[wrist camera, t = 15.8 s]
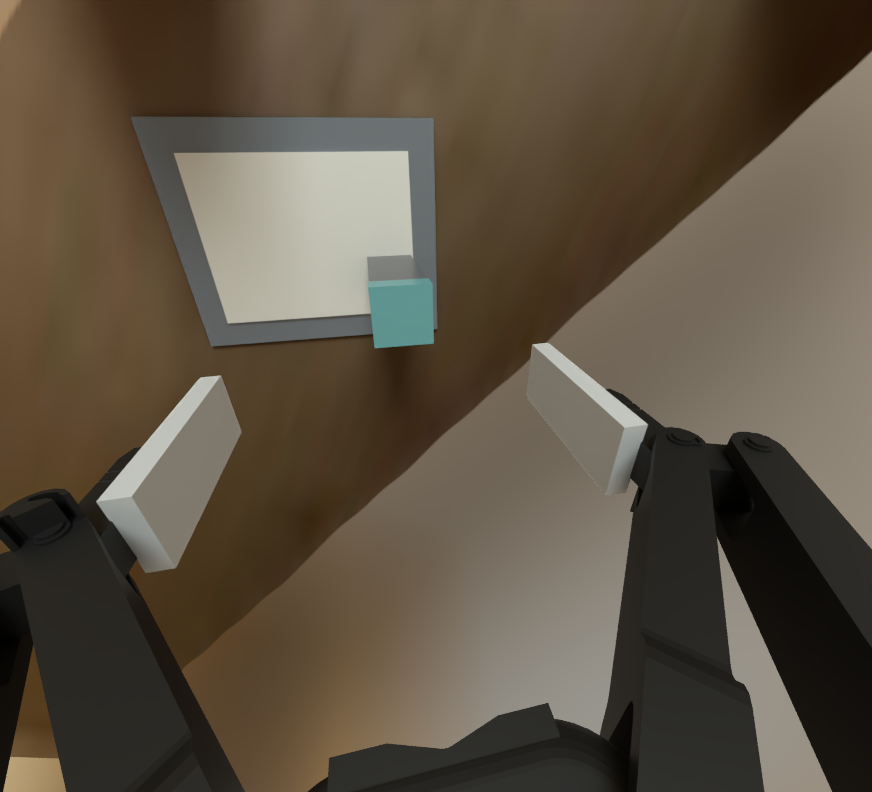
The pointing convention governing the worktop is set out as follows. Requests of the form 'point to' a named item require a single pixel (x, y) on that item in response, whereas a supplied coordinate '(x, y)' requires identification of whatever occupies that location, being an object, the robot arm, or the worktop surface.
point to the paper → (291, 216)
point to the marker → (399, 302)
